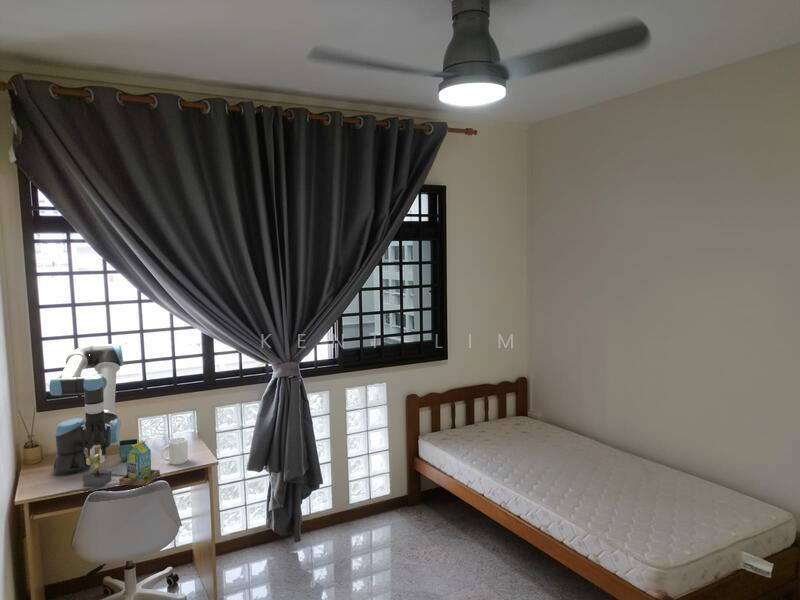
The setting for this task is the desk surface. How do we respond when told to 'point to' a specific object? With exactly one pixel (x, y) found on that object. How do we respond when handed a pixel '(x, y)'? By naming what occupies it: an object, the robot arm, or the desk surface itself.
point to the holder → (143, 482)
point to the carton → (139, 461)
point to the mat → (120, 470)
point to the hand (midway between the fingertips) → (97, 462)
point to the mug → (177, 451)
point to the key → (95, 461)
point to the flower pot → (125, 447)
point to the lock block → (97, 478)
